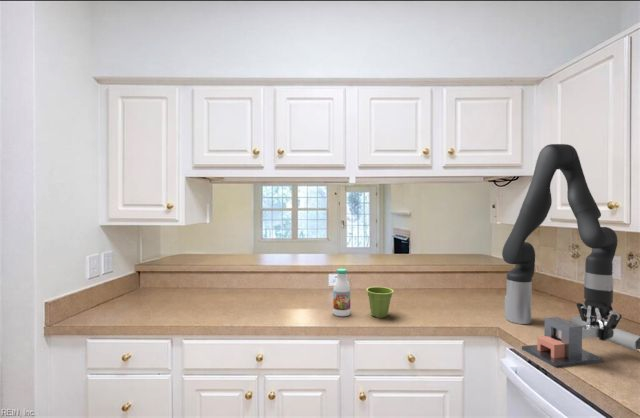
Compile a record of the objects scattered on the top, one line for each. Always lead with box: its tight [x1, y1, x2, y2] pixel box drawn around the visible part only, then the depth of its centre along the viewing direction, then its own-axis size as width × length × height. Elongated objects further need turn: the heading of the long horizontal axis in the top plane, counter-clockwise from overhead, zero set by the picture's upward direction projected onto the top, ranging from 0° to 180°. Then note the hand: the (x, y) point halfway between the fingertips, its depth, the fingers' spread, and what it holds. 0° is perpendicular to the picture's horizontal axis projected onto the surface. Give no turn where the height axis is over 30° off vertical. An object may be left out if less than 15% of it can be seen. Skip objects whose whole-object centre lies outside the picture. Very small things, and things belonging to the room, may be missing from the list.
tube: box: [570, 315, 640, 352], centre depth 127 cm, size 5×5×25 cm
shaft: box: [556, 321, 614, 340], centre depth 113 cm, size 6×18×6 cm, turn 101°
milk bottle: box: [332, 268, 351, 317], centre depth 152 cm, size 8×8×20 cm
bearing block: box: [521, 316, 605, 368], centre depth 111 cm, size 13×18×11 cm
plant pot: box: [366, 286, 394, 318], centre depth 151 cm, size 12×12×11 cm
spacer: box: [536, 336, 565, 358], centre depth 111 cm, size 6×4×4 cm, turn 12°
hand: (597, 337), depth 114 cm, fingers closed on shaft, 3 cm apart
